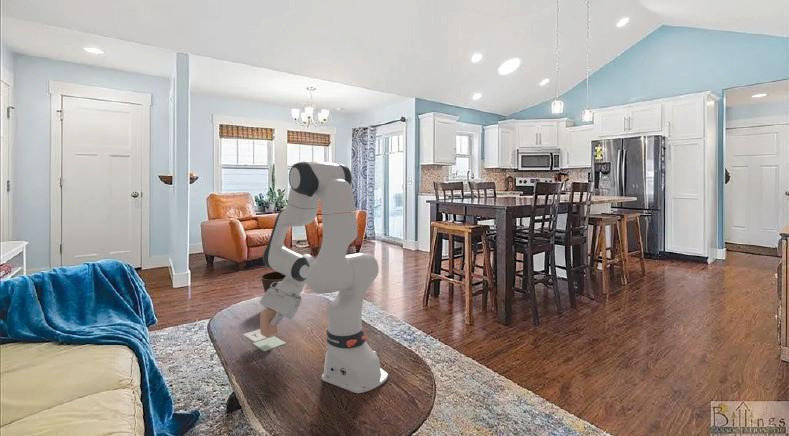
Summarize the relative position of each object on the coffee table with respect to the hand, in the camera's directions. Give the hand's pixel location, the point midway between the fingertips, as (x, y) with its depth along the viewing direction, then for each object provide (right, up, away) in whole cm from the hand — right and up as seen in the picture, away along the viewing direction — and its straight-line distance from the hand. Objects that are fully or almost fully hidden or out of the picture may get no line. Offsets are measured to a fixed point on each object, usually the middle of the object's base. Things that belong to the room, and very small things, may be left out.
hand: (266, 321), depth 147 cm
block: (0, -5, +1) cm, 5 cm away
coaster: (+1, -9, +1) cm, 9 cm away
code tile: (-6, -8, +10) cm, 14 cm away
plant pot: (-8, -4, +42) cm, 43 cm away
